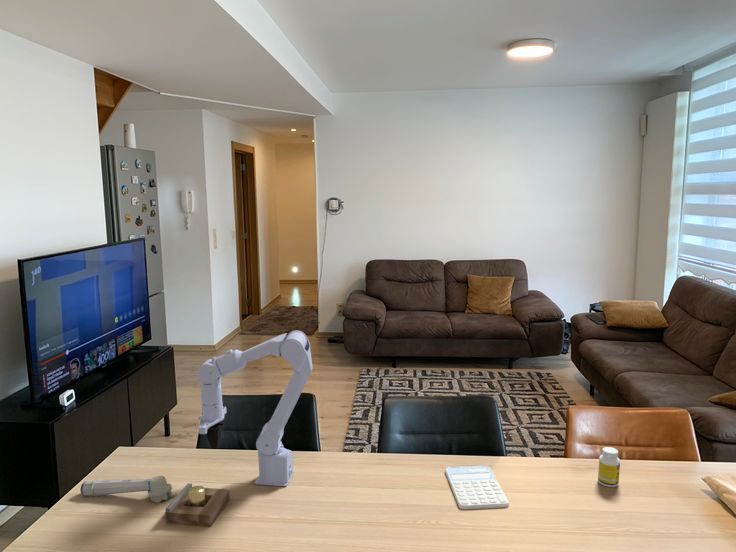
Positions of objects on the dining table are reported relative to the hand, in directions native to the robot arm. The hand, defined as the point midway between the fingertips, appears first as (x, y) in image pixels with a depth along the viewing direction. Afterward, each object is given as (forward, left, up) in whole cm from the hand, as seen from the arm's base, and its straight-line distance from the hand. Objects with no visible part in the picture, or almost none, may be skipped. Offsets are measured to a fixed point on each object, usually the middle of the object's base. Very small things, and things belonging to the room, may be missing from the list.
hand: (214, 446), depth 158 cm
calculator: (-74, -4, -11) cm, 75 cm away
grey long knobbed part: (+21, +12, -10) cm, 26 cm away
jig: (-2, +16, -10) cm, 19 cm away
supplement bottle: (-111, -11, -10) cm, 112 cm away
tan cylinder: (-2, +16, -10) cm, 19 cm away
